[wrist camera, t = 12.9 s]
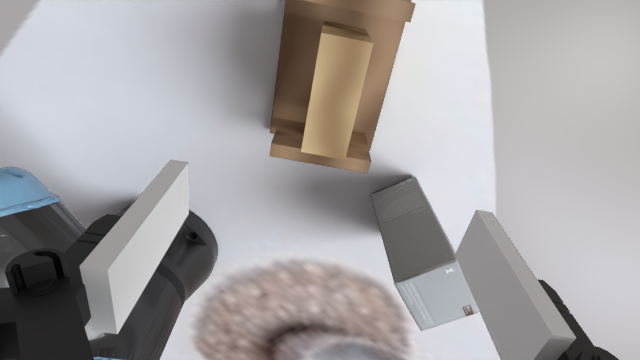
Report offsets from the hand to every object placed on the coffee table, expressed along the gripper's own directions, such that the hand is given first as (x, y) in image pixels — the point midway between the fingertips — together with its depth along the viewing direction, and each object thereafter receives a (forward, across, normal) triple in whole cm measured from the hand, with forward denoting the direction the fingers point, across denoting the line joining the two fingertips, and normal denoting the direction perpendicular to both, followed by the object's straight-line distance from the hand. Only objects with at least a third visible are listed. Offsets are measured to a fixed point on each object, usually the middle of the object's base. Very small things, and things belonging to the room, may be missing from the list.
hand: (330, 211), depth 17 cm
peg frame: (+27, 0, 0) cm, 27 cm away
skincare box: (+27, +13, -16) cm, 34 cm away
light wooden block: (+23, 0, 0) cm, 23 cm away
